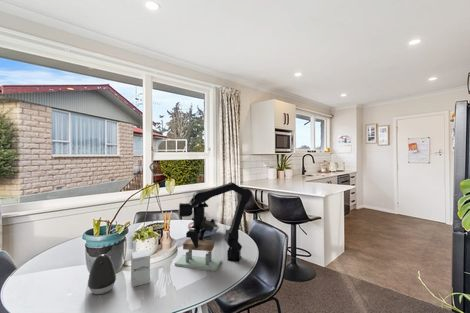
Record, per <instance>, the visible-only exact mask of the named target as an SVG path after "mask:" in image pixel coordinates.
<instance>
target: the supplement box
mask: <svg viewBox="0 0 470 313" xmlns="http://www.w3.org/2000/svg"><path fill="white" fill-rule="evenodd" d="M150 267H151V255H150V252H149V249H144V250H137V251H133V252H130V281H131V286H132V287H131V288H134V287H137V286H143V285H145V284H150V282H151V269H150Z"/></svg>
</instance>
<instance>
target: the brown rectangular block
mask: <svg viewBox="0 0 470 313" xmlns="http://www.w3.org/2000/svg"><path fill="white" fill-rule="evenodd" d="M214 248H215V240H206V239H203V240H199V241H198V247H197V248H195V246H194V244H193V242H192V240H191V238H187V239H186V240H184V242H183V244H182V249H183V250H186V251H189V250H192V251H201V252H202V251H203V252H206V251H207V252H208V251H211V252H212V251H213V249H214Z"/></svg>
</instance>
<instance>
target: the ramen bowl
mask: <svg viewBox="0 0 470 313" xmlns="http://www.w3.org/2000/svg"><path fill="white" fill-rule="evenodd" d="M214 220H215V223H216V225H215V227H214V230H213V231H212V232H209V231H208V230H207V231H206V232H205V234H204V238H207V237H209V236H212V235H214V234H215V233H216V232H217V231H218V230H219V228H220V226H221V224H220V223H219V222H218V221H217V219H214ZM192 226H193V221H191V222H188V223H187V225H186V227H187V229H188V231H189V230H190V229H194V228H192Z"/></svg>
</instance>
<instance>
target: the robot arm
mask: <svg viewBox="0 0 470 313" xmlns="http://www.w3.org/2000/svg"><path fill="white" fill-rule="evenodd" d="M232 191H233V192H235V193H237V198H236V199H237V204H236V207H235V211H234V214H233V218H232V221H231V224H230V228H228V229H225V234H224V235H223V237H224V241H225V243H226V244H227V245H228V249H227V253H226V254H227V261H231V262H240V260H241V259H242V255H241V252H242V248H243V246H242V244H241V243H240V242H239V238H240V237H239V229H240V226H241V223H242V219H243V215H244V212H245V210H246V209H245V208H246V206H247V205H248V203H249V202H250V200H251V198H252V195H253V194H252V193H253V192H252V190H250V189H248V188H246V187H244V186H239V184H236V183H235V182H232V181H231V182H227V183H225V184H222V185H219V186H217V187H212V188H210V189H201V190H195V191H194V192H193V194H192V198H191V199H190V200H189V202H186V203H183V202H180V203H179V205H178V217H179V218H183V217H184V218H185V217H191V216H193V217H192V218H191V221H192V222H193V226H192V228H194V229H190V230H189V229H188V231H187V232H186V233H185V237H186V238H188V239H191V240H192V242H193V244H194V246H195V248H197V247H198V241H199V240H204V238H205V237H204V234H205V232H206V231H207V230H208V231H209V232H212V231H213V230H214V227H215V225H216V223H215V220H216V219H214V218H212V219H210V220H209V219H207V217H206V216H205V208H208V207H209V205H208V204H207V201H208V200H210V199H211V198H214V197H217V196H220V195H223V194H226V193H228V192H232Z"/></svg>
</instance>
